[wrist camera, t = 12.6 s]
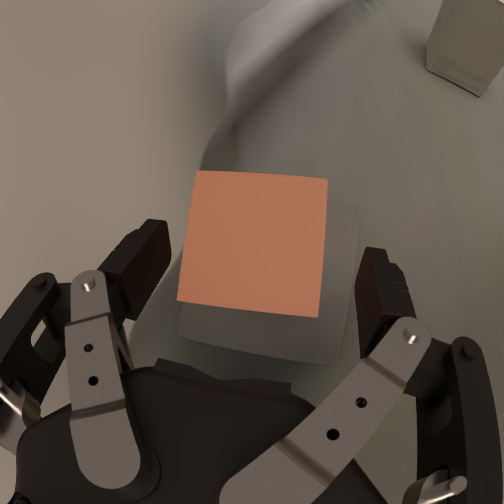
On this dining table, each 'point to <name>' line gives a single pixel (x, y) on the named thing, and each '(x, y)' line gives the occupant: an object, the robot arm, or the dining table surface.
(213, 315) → the charcoal block
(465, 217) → the dining table surface
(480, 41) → the skincare box
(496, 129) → the dining table surface
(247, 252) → the brick pillar
